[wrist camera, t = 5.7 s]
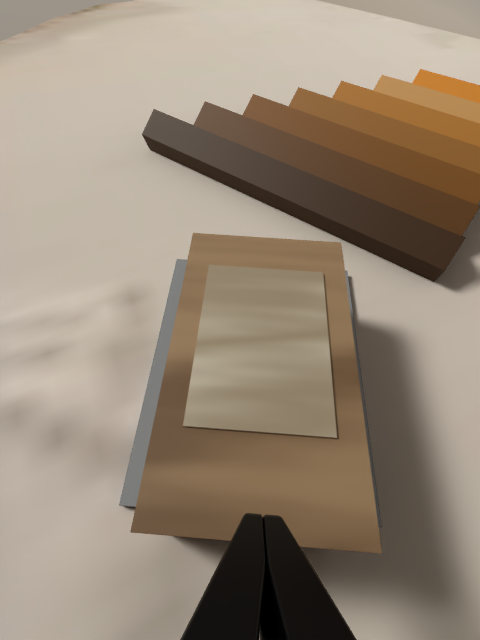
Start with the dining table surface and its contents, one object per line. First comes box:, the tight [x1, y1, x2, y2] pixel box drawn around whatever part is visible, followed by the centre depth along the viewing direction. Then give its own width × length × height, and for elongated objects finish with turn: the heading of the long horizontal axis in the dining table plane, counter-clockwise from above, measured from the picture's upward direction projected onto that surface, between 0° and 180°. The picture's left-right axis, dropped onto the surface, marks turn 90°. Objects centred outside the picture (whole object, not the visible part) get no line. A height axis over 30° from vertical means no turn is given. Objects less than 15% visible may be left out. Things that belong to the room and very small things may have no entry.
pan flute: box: [142, 69, 480, 282], centre depth 30 cm, size 25×3×25 cm
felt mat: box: [119, 259, 382, 527], centre depth 18 cm, size 14×11×1 cm
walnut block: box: [131, 233, 382, 553], centre depth 15 cm, size 5×7×12 cm
